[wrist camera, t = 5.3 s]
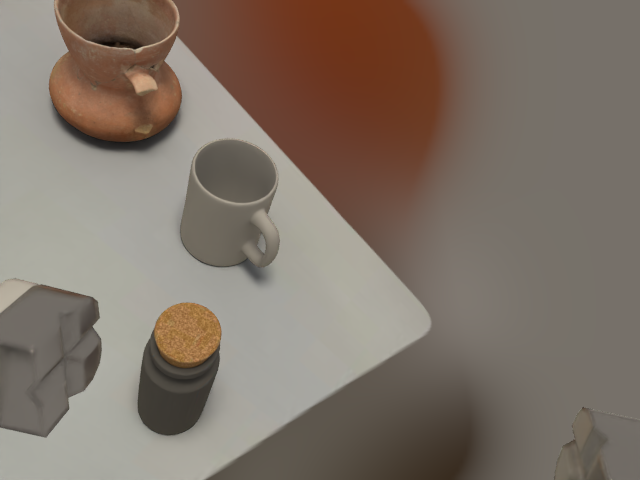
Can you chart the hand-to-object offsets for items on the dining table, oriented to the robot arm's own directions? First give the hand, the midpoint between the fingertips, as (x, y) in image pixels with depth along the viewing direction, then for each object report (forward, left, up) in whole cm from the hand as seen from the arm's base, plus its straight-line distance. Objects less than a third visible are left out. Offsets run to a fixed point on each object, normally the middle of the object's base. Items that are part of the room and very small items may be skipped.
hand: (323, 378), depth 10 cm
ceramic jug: (+18, +50, -46) cm, 70 cm away
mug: (+21, +27, -46) cm, 57 cm away
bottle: (+8, +14, -46) cm, 49 cm away
